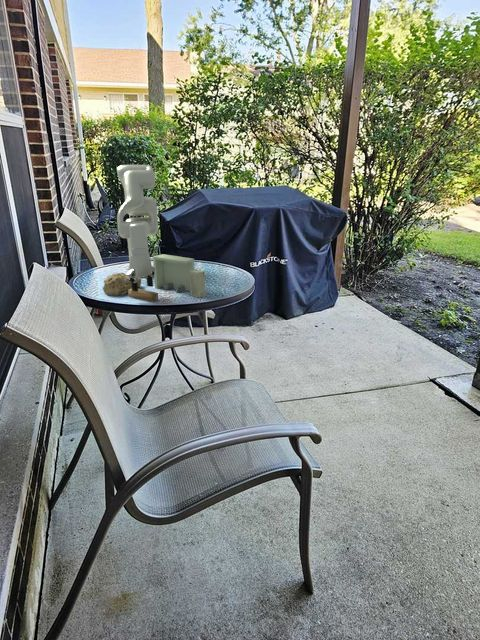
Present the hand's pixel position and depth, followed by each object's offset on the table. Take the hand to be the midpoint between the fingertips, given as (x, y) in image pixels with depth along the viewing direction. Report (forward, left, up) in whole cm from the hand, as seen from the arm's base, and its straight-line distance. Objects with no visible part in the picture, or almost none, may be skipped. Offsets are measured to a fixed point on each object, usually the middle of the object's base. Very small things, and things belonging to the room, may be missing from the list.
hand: (142, 288), depth 191 cm
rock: (-19, +5, -5) cm, 20 cm away
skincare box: (+19, +17, -5) cm, 26 cm away
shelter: (+3, +19, -5) cm, 20 cm away
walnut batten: (0, 0, -5) cm, 5 cm away
